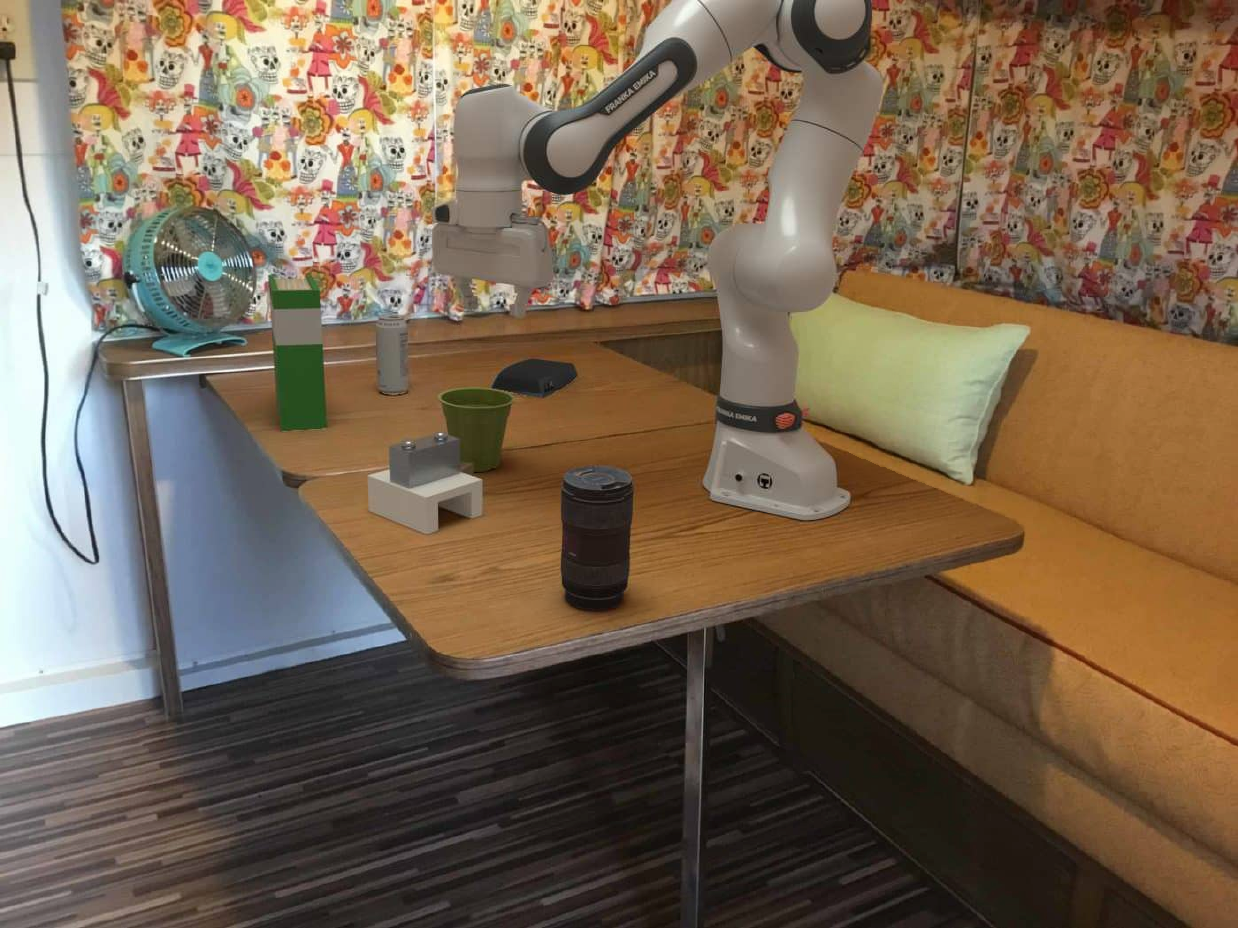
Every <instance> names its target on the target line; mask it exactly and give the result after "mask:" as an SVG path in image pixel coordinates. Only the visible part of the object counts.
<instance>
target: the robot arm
mask: <svg viewBox="0 0 1238 928" xmlns="http://www.w3.org/2000/svg"><path fill="white" fill-rule="evenodd" d="M872 5H873V4H872V0H672V1H670V2H669V4H668V5H667V6H665V7H664V8H663V10H661V12H659V14H657V16H656V17H655V18H654V19H653V20H652V22H650V24H649V25H648V27H646V30H645V32H644V36H643V39H642V41H643V42H642V46H641V50H640V52H639V54H638V55H637V57H636V59H635V60H634V62H633V63H631V65H630V66H628V68H627V69H625V70H624V71H623V72H622V73H620V74H619V75H618V76H616V78H615V79H613V80H612V81H610V82H609V84H607V85H606V86H604V87H603V88H602V89H601V90H599V92H597V93H596V94H595V95H593V97H591V98H590V99H589V100H587V101H586V102H585V103H583V104H581V105H578V106H576V107H573V108H569V109H563V110H559V111H557V110H555V109H552V108H550V107H548V106H545V105H542V104H541V103H539V102H537V101H535V100H533V99H531V98H529V97H527V96H526V95H525V94H522V93H521V92H520V91H518V90H517V89H516V88H515V87H514V86H513V85H511V84H508V83H499V84H493V85H487V86H482V87H481V86H480V87H476V88H472V89H469V90H467V91H465V92H463V94H462V95H460V96H459V98H458V99H457V102H456V103H455V108H454V117H453V119H454V120H453V122H454V123H453V151H454V153H453V154H454V159H455V162H456V166H457V181H456V184H455V193H456V195H455V196H456V197H454V198H451V199H450V200H447V201H445V202H442V203H440V204H437V205H435V206H433V207H432V208H431V209H430V217H431V221H432V222H433V223H434V224H435V225H434V227H432V228H433V229H432V233H431V235H432V236H431V246H432V247H431V250H432V261H433V262H432V263H433V266H434V269H435V270H436V272H437V273H438V275H443V276H449V277H450V276H451V277H454V278H453V279H454V280H453V281H454V286H455V288H456V289H457V291H458V293H459V296H460V298H461V308H462V309H464V310H469V311H471V310H472V311H473V310H477V308H478V307H479V304H478V300H479V299H478V295H474V292H473V290H472V288H471V284H472V283H473V280H477V281H482V282H483V281H485V282H489V283H497V284H504V285H510V286H513V290H514V291H513V293H514V294H517V295H516V296H515V300H514V302H513V303H511V304H509V316H510V318H515V319H523V318H525V317H526V315H527V303H528V302H529V300H530V298H531V295H533V294H532V293H533V289H538V288H543V287H547V286H550V285H551V283H552V281H553V279H554V263H553V255H552V247H551V243H550V239H549V228H548V226H547V225H546V224H545V222H544V221H543V220H541V218H540V217H539V216H537V215H524V213H523V188H522V187H523V186H522V185H523V183H524V182H525V181H534V182H535V183H536V184H537V186H539V187H540V188H542V189H543V190H545V191H546V192H549V193H550V194H555V195H559V196H560V195H561V196H568V195H574V194H578V193H579V192H582V191H584V190H586V189H587V188H589V187H590V186H591V185H592V184H594V182H595V181H596V179H597V178H598V177H599V175H600V173H601V172H602V170H603V168H604V166H605V164H606V163H607V160H608V159H609V158H610V155H611V154H612V152H613V150H614V149H615V148H616V146H617V145H618V144H619V143H620V142H622V141H623V139H624V138H626V137H627V136H628V135H629V134H630V133H632V132H633V131H634V130H635V129H637V128H638V127H639V126H640V125H642V123H644V122H645V121H646V120H647V119H649V117H651V116H653V114H655V112H657V111H658V110H659V109H661V108H662V107H663V106H664V105H665V104H667V103H668V102H670V101H672V100H673V99H676V98H677V97H679V96H681V95H683V94H685V93H686V92H689V91H691V90H693V89H694V88H697V87H698V86H700V85H702V84H703V83H705V82H707V81H708V80H710V79H711V78H713V77H714V76H716V75H718V74H719V73H720V72H722V71H723V70H724V69H726V68H727V67H728V66H729V65H730V64H732V63H733V62H734V61H736V60H737V59H738V58H739V57H740V56H742V55H743V54H744V53H746V52H748V51H749V50H750V49H752V48H753V49H755V50H756V51H757V52H759V53H760V54H761V55H762V56H763V57H764V58H765V59H766V61H768V62H769V63H770V64H771V65H772V66H774V67H775V68H776V69H779V70H781V71H782V72H785V73H790V74H791V73H792V74H793V73H794V74H801V75H802V89H801V90H802V91H801V95H800V98H799V100H800V101H799V102H798V105H797V106H796V108H795V110H794V113H793V115H792V117H791V119H790V121H789V123H788V126H787V128H786V131H785V132H784V134H783V138H782V139H781V141H780V144H779V147H778V149H777V151H776V154H775V155H774V158H773V160H772V161H771V162H772V163H771V164H770V167H769V169H768V170H767V171H768V172H767V182H768V185H769V198H768V199H769V200H768V203H767V204H768V206H767V212H766V215H765V218H764V222H763V224H760V223H755V222H746V223H745V222H744V223H740V224H736V225H733V226H728V227H727V228H724V229H722V230H721V231H720V232H718V233H717V234H716V236H714V238H713V239H712V241H711V243H710V245H709V248H708V251H707V255H706V262H707V263H706V264H707V268H708V271H709V273H710V276H711V278H712V279H713V280H712V281H713V282H714V286H715V290H716V291H715V292H716V297H717V303H718V304H717V305H718V311H719V316H720V317H719V318H720V324H721V326H720V327H721V333H722V355H721V356H722V357H721V360H722V361H721V374H720V375H721V376H720V389H719V393H718V394H717V395H716V401H715V402H716V404H715V412H714V413H715V415H714V417H715V418H714V419H715V421H714V422H715V427H716V429H715V435H714V440H713V446H712V450H711V455H710V458H709V462H708V465H707V468H706V471H705V474H704V476H703V479H702V485H703V487H704V489H706V490H707V491H708V492H709V498H710V500H712V501H714V502H717V503H722V504H727V505H732V506H736V507H741V508H745V509H750V510H755V511H758V512H759V511H760V512H764V513H768V514H772V515H777V516H781V517H787V518H791V519H795V520H801V521H811V520H812V521H813V520H820V519H825V518H827V517H830V516H833V515H835V514H837V513H840V512H841V511H842V510H845V509H846V508H847V507H848V506H849V505H850V503H851V493H850V491H848V490H846V489H843V488H841V487H838V476H837V467H836V462H835V459H834V457H832V456H831V454H829V453H828V451H827V450H825V449H824V448H823V447H822V445H820V443H818V442H817V440H816V439H815V438H814V437H813V436H812V435H811V434H810V433H809V432H808V431H807V430H806V429H805V428H804V427H803V424H804V423H803V418H804V417H806V416H809V415H810V413H808V412H809V410H810V407H806V408H803V409H801V408H800V406H799V405H798V402H797V400H796V398H795V395H796V386H797V385H796V384H797V375H798V362H799V354H800V353H799V346H798V342H797V340H796V338H795V336H794V333H793V330H792V328H791V327H792V326H791V324H790V318H789V313H790V314H791V313H795V314H796V313H807V312H810V311H813V310H815V309H817V308H819V307H821V306H822V305H823V304H824V303H825V302H826V301H827V300H828V299H829V298H830V296H831V295H832V292H833V290H834V288H835V285H836V281H837V275H838V274H837V273H838V272H837V271H838V270H837V263H836V261H835V258H834V253H833V245H834V244H833V242H834V241H833V240H834V235H835V230H836V229H835V228H836V222H837V218H838V214H839V210H840V206H841V204H842V201H843V198H844V195H845V194H846V191H847V189H848V186H849V185H850V182H851V180H852V177H853V175H854V173H855V170H856V168H857V166H858V163H859V161H860V159H861V156H862V154H863V152H864V150H865V147H866V145H867V143H868V140H869V139H870V135H871V133H872V131H873V127H874V125H875V121H876V118H877V115H878V111H879V108H880V105H881V100H882V97H883V92H884V83H883V79H882V76H881V74H880V73H879V71H878V70H877V69H876V67H874V66H873V65H872V63H870V62H868V61H866V60H865V59H866V58H867V57H868V56H869V54H870V52H871V48H872V47H871V46H872V43H871V40H872V39H871V38H872V37H871V29H872V28H871V27H872V21H873V6H872ZM862 54H863V55H862Z"/></svg>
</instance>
